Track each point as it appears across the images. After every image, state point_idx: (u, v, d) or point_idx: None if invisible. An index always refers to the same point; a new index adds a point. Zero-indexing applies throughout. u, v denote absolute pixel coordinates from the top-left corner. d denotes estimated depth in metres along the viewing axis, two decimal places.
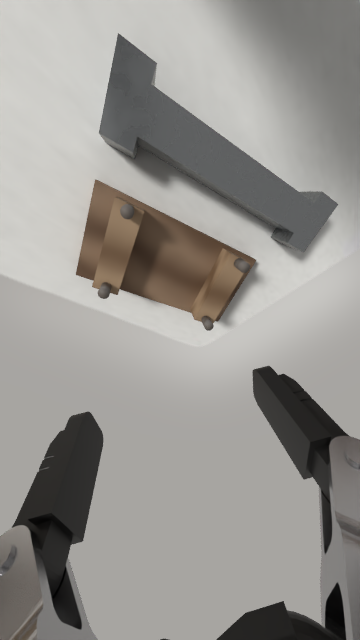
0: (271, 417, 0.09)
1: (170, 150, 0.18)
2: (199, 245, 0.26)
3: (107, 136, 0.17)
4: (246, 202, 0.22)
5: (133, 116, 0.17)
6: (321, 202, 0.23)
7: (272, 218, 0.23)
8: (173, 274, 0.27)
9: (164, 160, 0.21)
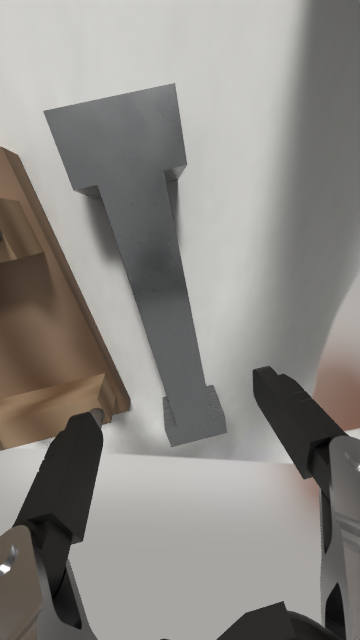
0: (271, 417, 0.09)
1: (125, 244, 0.12)
2: (80, 349, 0.17)
3: (53, 131, 0.09)
4: (159, 366, 0.16)
5: (113, 164, 0.10)
6: (216, 421, 0.20)
7: (169, 399, 0.18)
8: (13, 347, 0.16)
9: None
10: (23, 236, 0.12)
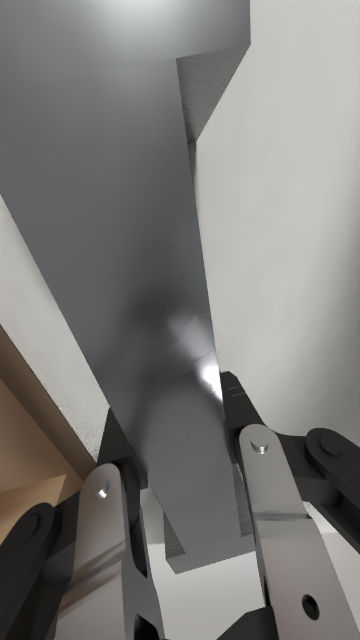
0: None
1: (68, 284, 0.04)
2: (18, 446, 0.10)
3: None
4: (156, 491, 0.09)
5: None
6: (248, 540, 0.12)
7: (175, 528, 0.10)
8: None
9: None
10: None
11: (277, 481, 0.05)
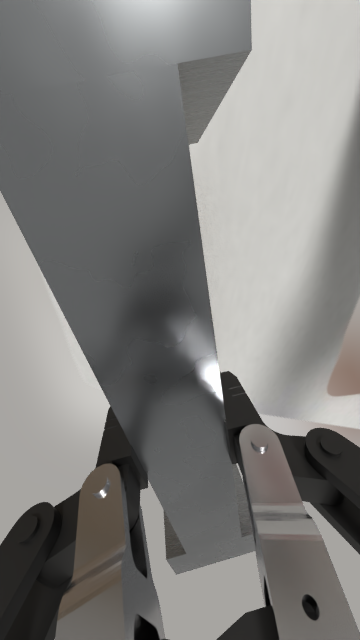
0: None
1: (70, 286, 0.04)
2: None
3: None
4: (157, 491, 0.09)
5: (1, 26, 0.03)
6: (248, 540, 0.12)
7: (175, 528, 0.10)
8: None
9: None
10: None
11: (276, 482, 0.05)
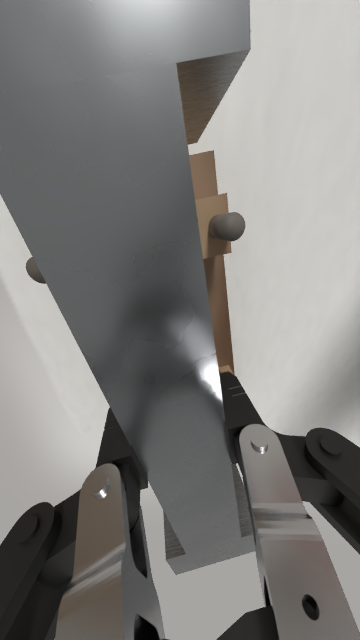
0: None
1: (69, 286, 0.04)
2: (215, 341, 0.18)
3: None
4: (157, 492, 0.09)
5: None
6: (248, 540, 0.12)
7: (175, 528, 0.10)
8: None
9: None
10: None
11: (276, 481, 0.05)
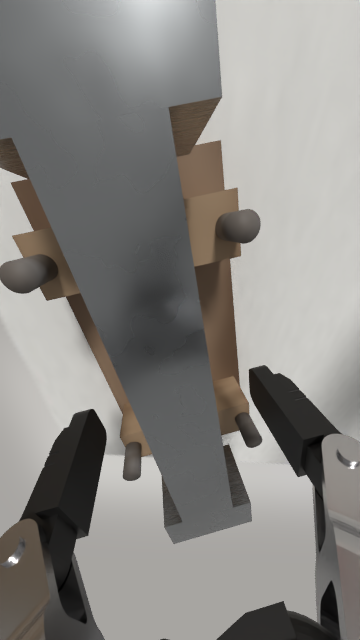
0: (266, 416, 0.09)
1: (87, 271, 0.06)
2: (219, 351, 0.16)
3: None
4: (156, 457, 0.10)
5: (45, 86, 0.04)
6: (239, 511, 0.14)
7: (172, 494, 0.12)
8: None
9: None
10: None
11: None
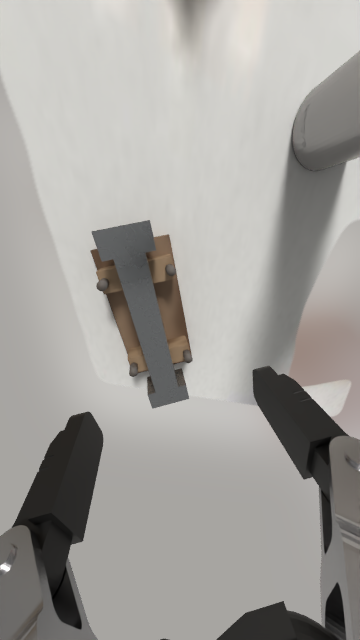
0: (271, 417, 0.09)
1: (125, 285, 0.23)
2: (176, 321, 0.33)
3: (94, 238, 0.20)
4: (143, 351, 0.27)
5: (121, 251, 0.21)
6: (181, 389, 0.31)
7: (150, 373, 0.28)
8: None
9: None
10: None
11: None
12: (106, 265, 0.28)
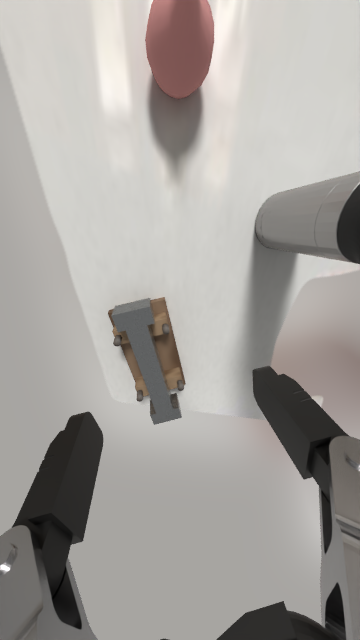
0: (271, 417, 0.09)
1: (133, 345, 0.33)
2: (172, 357, 0.43)
3: (113, 319, 0.30)
4: (146, 386, 0.37)
5: (130, 325, 0.31)
6: (175, 411, 0.41)
7: (152, 401, 0.39)
8: None
9: None
10: None
11: None
12: None
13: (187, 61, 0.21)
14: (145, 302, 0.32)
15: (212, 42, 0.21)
